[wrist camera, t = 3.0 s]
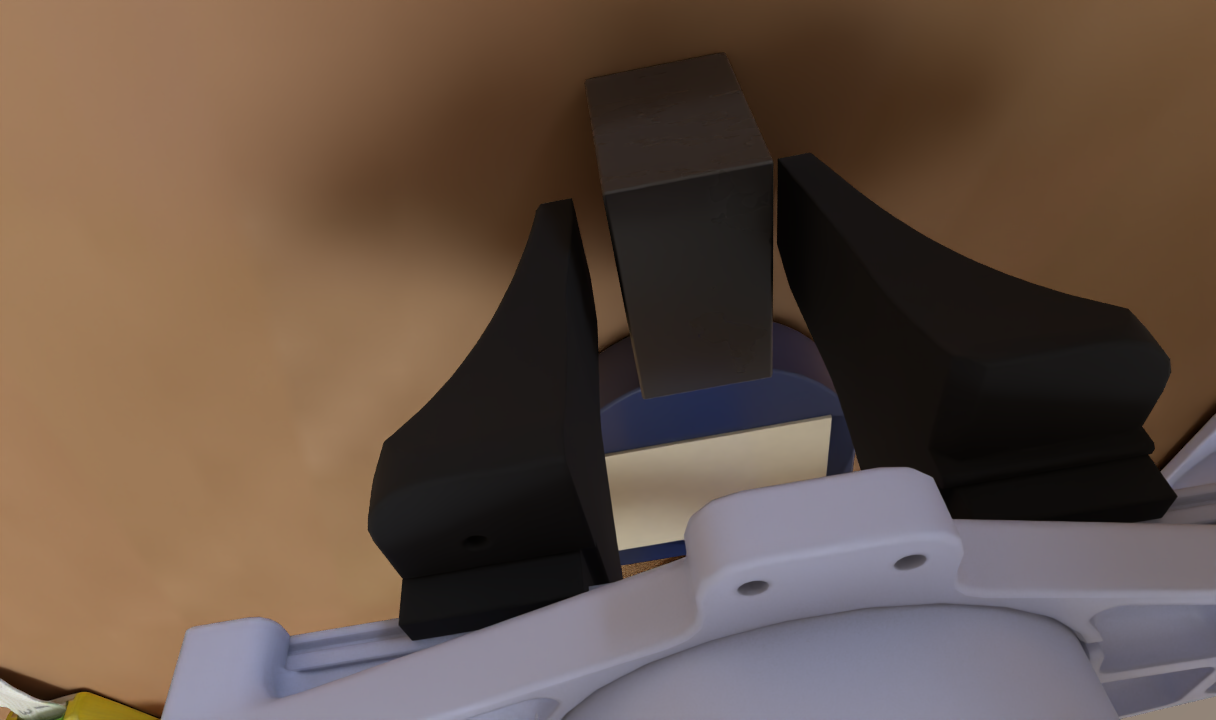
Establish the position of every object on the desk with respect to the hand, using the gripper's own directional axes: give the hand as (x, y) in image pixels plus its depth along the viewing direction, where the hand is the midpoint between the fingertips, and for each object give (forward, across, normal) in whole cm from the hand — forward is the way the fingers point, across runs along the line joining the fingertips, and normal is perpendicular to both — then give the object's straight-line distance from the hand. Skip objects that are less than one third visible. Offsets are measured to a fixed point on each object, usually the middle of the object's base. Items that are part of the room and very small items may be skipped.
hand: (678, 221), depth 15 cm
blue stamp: (+1, 0, +5) cm, 5 cm away
